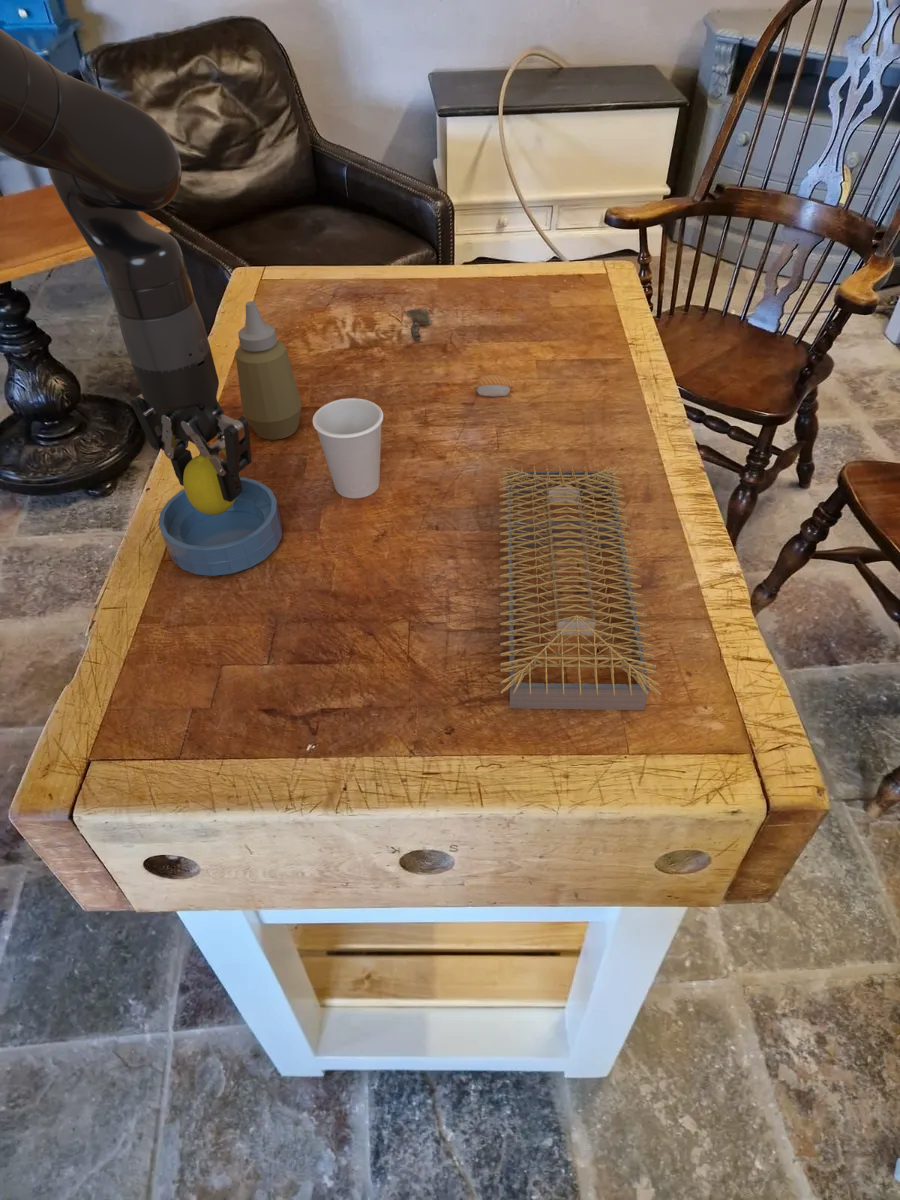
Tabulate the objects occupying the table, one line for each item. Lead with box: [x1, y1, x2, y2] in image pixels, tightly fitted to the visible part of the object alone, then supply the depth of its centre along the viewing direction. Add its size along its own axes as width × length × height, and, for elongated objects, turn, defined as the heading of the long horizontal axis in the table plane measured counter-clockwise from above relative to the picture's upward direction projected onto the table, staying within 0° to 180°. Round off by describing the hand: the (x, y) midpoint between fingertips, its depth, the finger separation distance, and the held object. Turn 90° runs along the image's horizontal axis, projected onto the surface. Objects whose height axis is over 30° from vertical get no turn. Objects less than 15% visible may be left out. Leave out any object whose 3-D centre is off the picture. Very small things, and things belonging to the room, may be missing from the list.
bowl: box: [157, 476, 283, 577], centre depth 92 cm, size 13×13×4 cm
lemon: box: [183, 453, 236, 515], centre depth 88 cm, size 6×6×8 cm
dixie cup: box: [312, 397, 384, 499], centre depth 98 cm, size 8×8×10 cm
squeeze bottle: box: [234, 300, 303, 441], centre depth 104 cm, size 8×8×18 cm
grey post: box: [406, 308, 433, 342], centre depth 131 cm, size 12×1×5 cm
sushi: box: [469, 373, 515, 397], centre depth 115 cm, size 3×6×3 cm, turn 88°
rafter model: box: [499, 465, 662, 711], centre depth 85 cm, size 35×14×6 cm, turn 178°
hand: (211, 489), depth 89 cm, fingers closed on lemon, 5 cm apart
